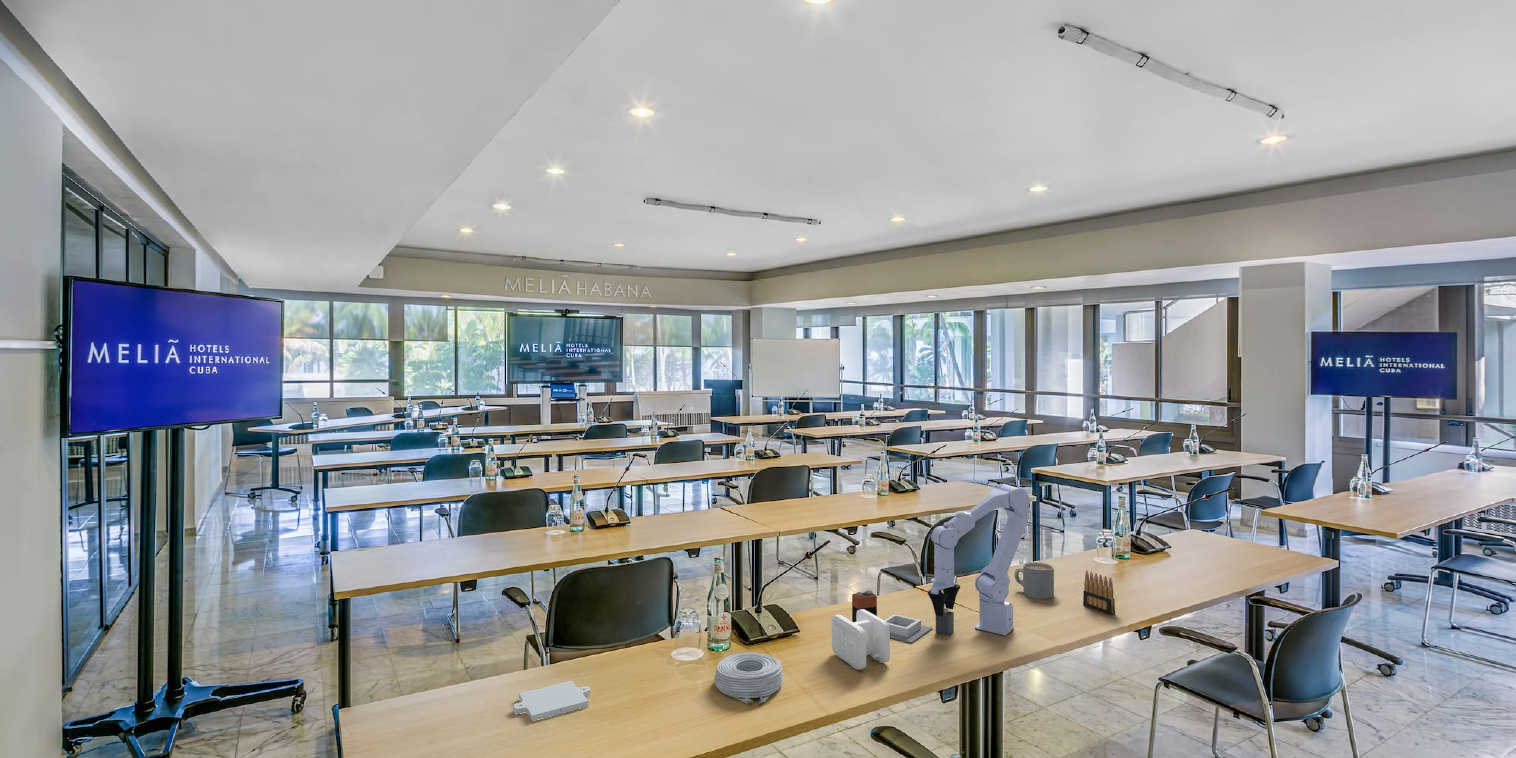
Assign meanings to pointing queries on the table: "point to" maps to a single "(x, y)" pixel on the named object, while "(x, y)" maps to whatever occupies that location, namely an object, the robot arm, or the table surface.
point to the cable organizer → (861, 639)
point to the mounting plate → (552, 700)
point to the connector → (945, 623)
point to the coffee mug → (1037, 580)
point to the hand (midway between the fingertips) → (944, 612)
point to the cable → (749, 676)
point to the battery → (864, 603)
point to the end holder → (906, 628)
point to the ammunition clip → (1098, 594)
